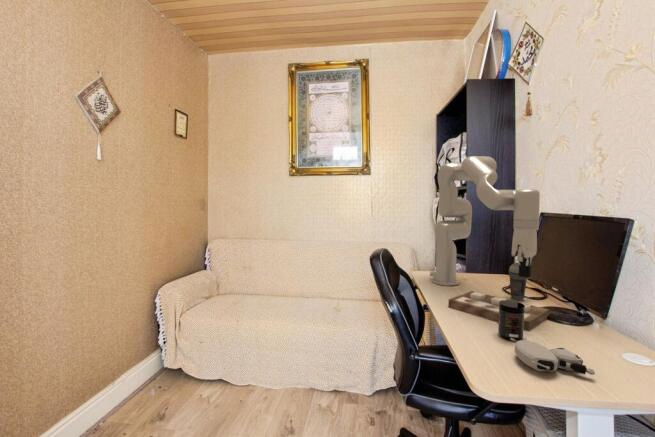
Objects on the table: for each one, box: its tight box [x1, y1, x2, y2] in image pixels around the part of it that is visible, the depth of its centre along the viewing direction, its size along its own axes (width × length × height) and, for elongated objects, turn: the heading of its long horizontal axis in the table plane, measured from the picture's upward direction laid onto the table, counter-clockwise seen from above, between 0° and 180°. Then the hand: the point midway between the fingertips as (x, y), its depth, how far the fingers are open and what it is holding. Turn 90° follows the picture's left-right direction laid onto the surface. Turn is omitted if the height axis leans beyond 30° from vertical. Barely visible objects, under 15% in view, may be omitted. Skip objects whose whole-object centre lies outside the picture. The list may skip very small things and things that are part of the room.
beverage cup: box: [507, 262, 528, 302], centre depth 129 cm, size 7×7×20 cm
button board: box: [448, 290, 550, 332], centre depth 115 cm, size 28×18×3 cm, turn 38°
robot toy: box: [511, 338, 596, 376], centre depth 78 cm, size 12×4×15 cm
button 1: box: [470, 291, 486, 301], centre depth 122 cm, size 4×4×2 cm
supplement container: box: [497, 299, 525, 342], centre depth 94 cm, size 7×7×10 cm
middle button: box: [491, 296, 508, 305], centre depth 116 cm, size 4×4×2 cm
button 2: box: [521, 302, 531, 313], centre depth 110 cm, size 4×4×2 cm
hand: (524, 276), depth 109 cm, fingers closed
